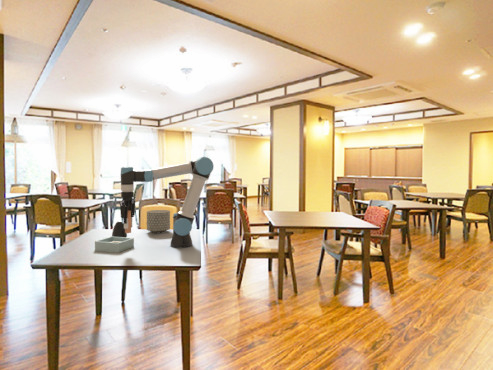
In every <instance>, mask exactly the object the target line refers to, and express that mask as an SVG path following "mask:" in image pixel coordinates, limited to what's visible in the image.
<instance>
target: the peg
mask: <svg viewBox="0 0 493 370" xmlns="http://www.w3.org/2000/svg"><path fill="white" fill-rule="evenodd" d="M127 218H128V229H125V233H127V234H131V233H132V227H131V211H129V210H128V214H127Z"/></svg>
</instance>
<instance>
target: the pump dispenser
mask: <svg viewBox="0 0 493 370" xmlns="http://www.w3.org/2000/svg"><path fill="white" fill-rule="evenodd" d="M111 236H113V237H126V238H128V233H125V228H124V222H122V221H117V222H116V223H115V224H114V227H112V233H111Z"/></svg>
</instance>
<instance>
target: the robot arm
mask: <svg viewBox="0 0 493 370" xmlns="http://www.w3.org/2000/svg"><path fill="white" fill-rule="evenodd" d="M213 170H214V163H213V161H212V159H211V158H209V157H208V156H207V157H206V156H201V157H199V158H197V159H195V160H194V159H193V160H190V161H188V162H186V163H179V164H174V165H167V166H161V167H156V168H155V167H154V168H149V169H141V170H139V169H134V167H133V166H122V167H120V191H121V192H120V197H121V198H122V200H121V201H120V202H119V209H120V218H121V219H122V220H123V223H124V228H125V229H128V218H127V214H128V210H129V211H131V228H133V218H135V215H136V210H135V209H136V200H134V199H133V198H134V196H135V192H134V190H135V187H134V185H135V184H134V183H138V182H139V183H140V182H141V183H149V182H151V183H152V182H153V181H154V180H160V179H165V178H170V177H171V178H172V177H178V176H183V175H188V174H189V175H192V179H191V182H190V185H189V188H188V190H187V193H186V195H185V198H184V201H183V203H182V206H181V209H180V211H178V212H176V213H173V216H172V219H173V220H172V224H173V225H172V229H173V231H172V232H173V233H172V237H171V240H170V247H172V248H178V247H182V248H188V246H189V247H191V245H192V246H193V240H192V237H191V231H192V228H193V223H194V220H195V215H194V214H195V210H196V209H197V206H198V203H199V200H200V197H201V194H202V191H203V189H204V186H205V183H206V181H208V180H209V179H210V176H211V174H212V172H213Z"/></svg>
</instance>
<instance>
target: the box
mask: <svg viewBox="0 0 493 370" xmlns="http://www.w3.org/2000/svg"><path fill="white" fill-rule="evenodd" d="M134 241H135V238H134V237H113V236H112V235H111V236H109V237H105V238H102V239H98V240H95V241H94V251H97V252H106V253H107V252H108V253H116V254H117V253H118V254H119V253H122V252H124V251H127V250H129V249H133V248H135V242H134Z"/></svg>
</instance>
